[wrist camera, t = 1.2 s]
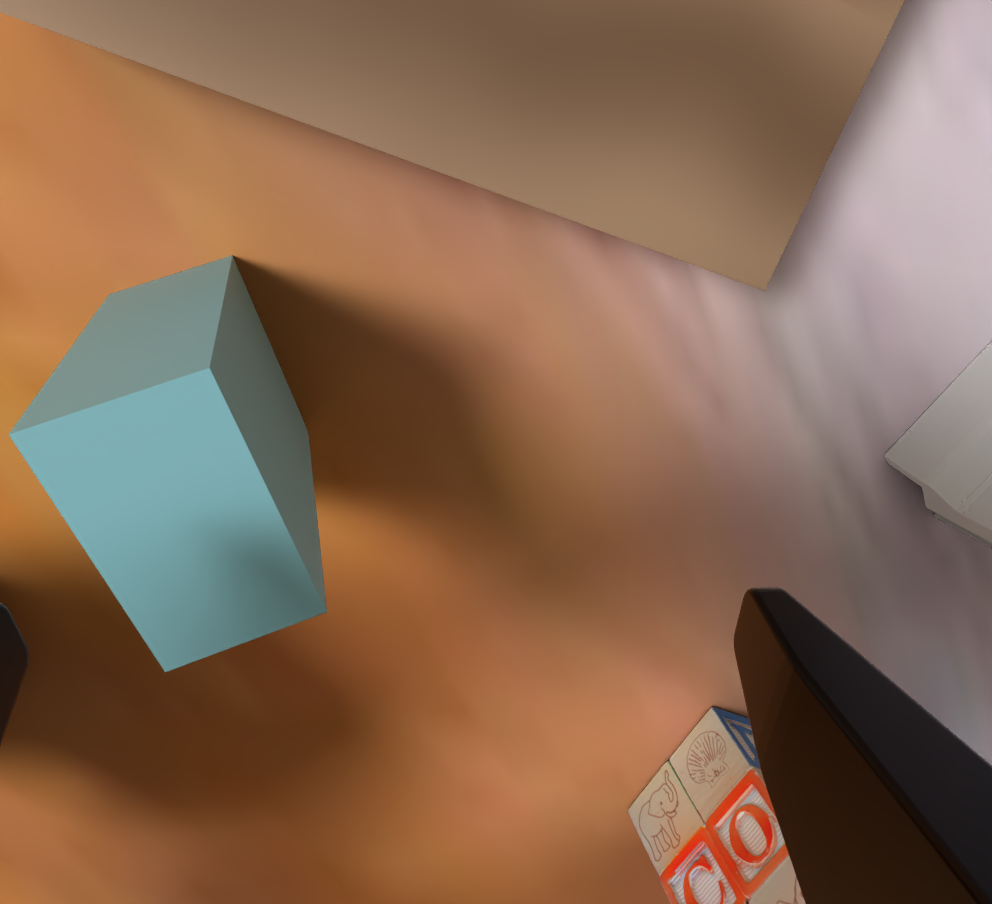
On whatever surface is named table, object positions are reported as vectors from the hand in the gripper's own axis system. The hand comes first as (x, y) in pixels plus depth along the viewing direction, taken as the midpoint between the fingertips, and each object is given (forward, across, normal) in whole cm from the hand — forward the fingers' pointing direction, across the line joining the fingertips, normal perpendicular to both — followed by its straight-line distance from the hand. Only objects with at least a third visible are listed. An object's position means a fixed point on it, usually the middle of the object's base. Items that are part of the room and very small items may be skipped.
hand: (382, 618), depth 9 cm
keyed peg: (+11, +6, +2) cm, 12 cm away
